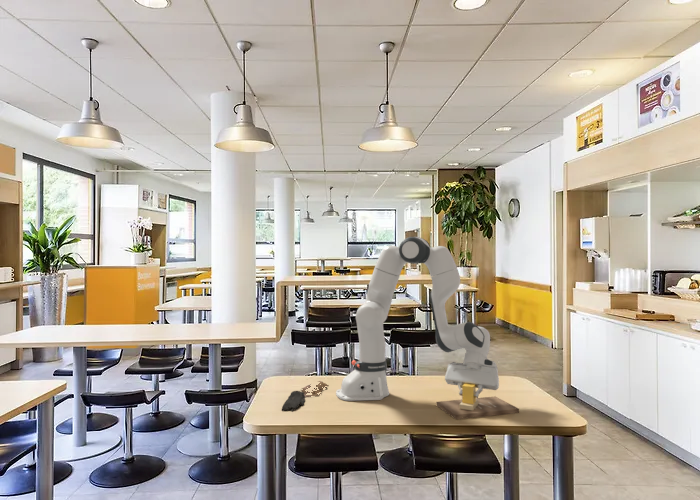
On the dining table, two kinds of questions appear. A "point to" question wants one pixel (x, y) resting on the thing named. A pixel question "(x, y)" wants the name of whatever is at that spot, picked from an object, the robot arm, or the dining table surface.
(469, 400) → the block
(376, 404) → the dining table surface
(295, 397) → the dark grey tapered piece
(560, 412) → the dining table surface
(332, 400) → the dining table surface
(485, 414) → the walnut board
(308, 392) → the wooden fragment
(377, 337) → the robot arm
